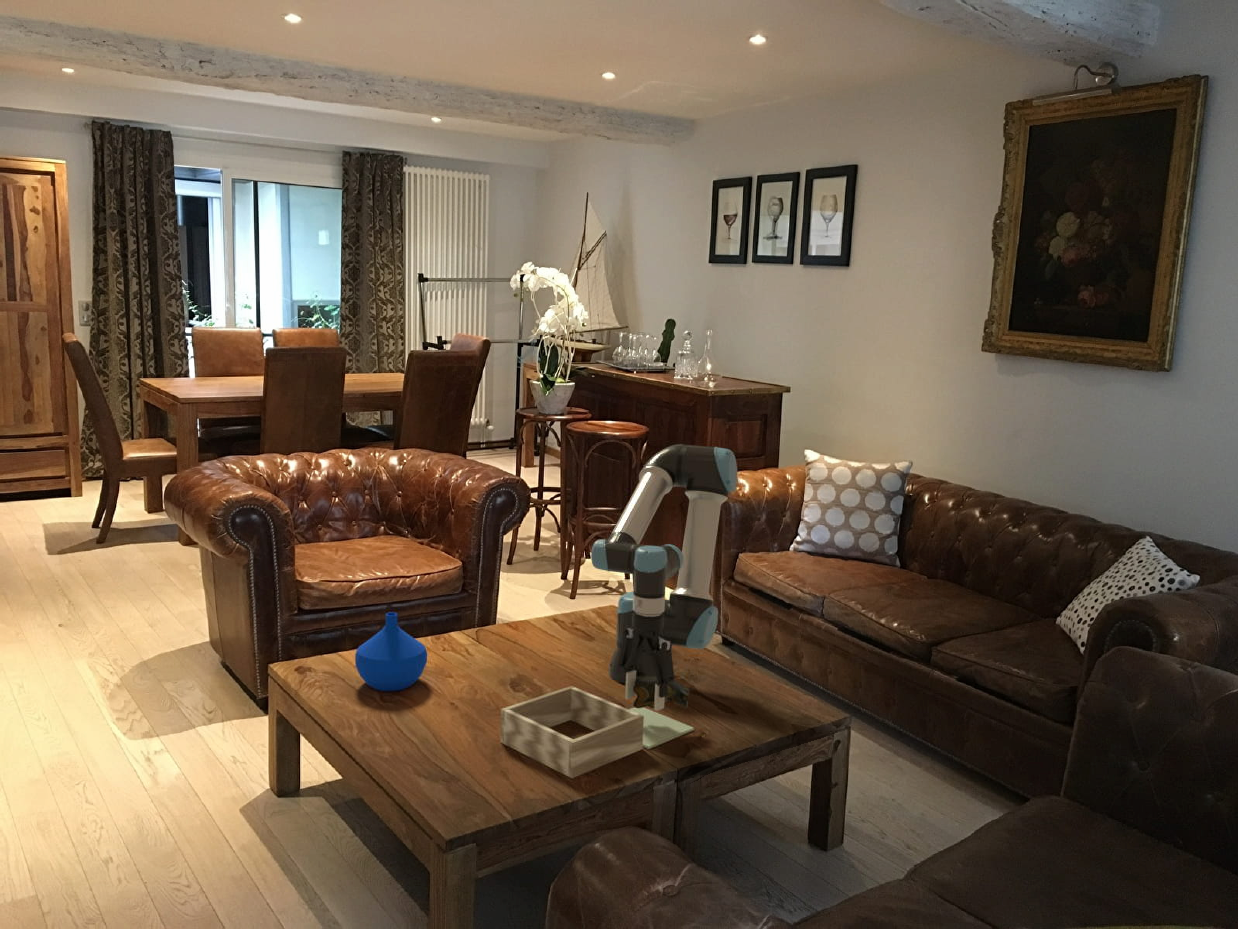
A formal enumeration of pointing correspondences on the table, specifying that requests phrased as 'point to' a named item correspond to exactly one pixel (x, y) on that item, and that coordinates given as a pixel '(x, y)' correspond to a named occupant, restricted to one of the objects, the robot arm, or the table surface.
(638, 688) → the sculpture
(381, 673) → the vase
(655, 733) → the pad
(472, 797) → the table surface
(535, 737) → the frame
